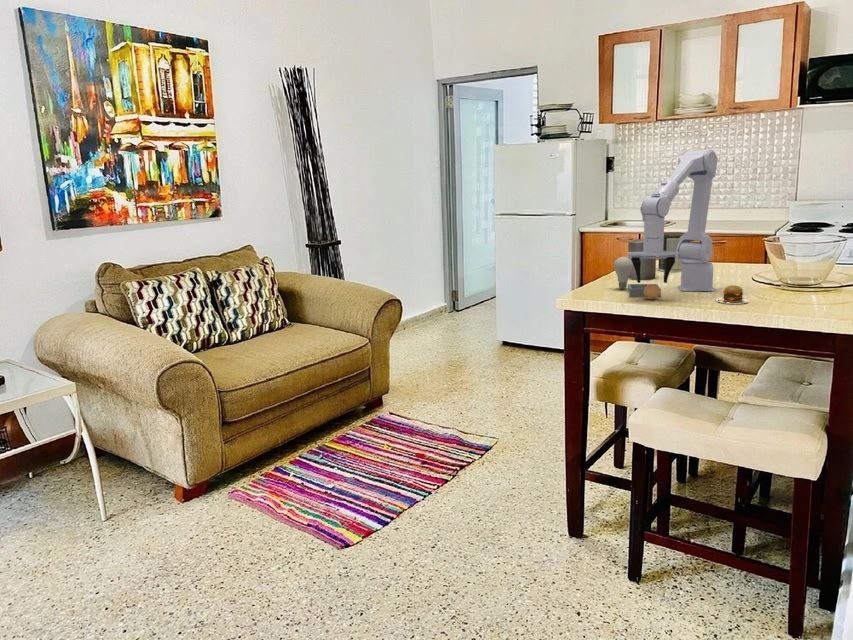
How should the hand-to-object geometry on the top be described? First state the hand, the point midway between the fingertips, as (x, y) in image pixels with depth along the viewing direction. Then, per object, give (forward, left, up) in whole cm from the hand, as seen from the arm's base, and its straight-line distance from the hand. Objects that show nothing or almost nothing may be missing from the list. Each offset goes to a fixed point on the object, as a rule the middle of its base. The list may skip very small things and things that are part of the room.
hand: (651, 282), depth 202 cm
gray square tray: (+1, -9, -5) cm, 10 cm away
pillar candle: (-1, -40, -6) cm, 40 cm away
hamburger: (-22, +3, -6) cm, 23 cm away
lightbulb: (+7, -17, -6) cm, 19 cm away
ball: (0, 0, -5) cm, 5 cm away
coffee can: (-14, -58, -6) cm, 60 cm away
